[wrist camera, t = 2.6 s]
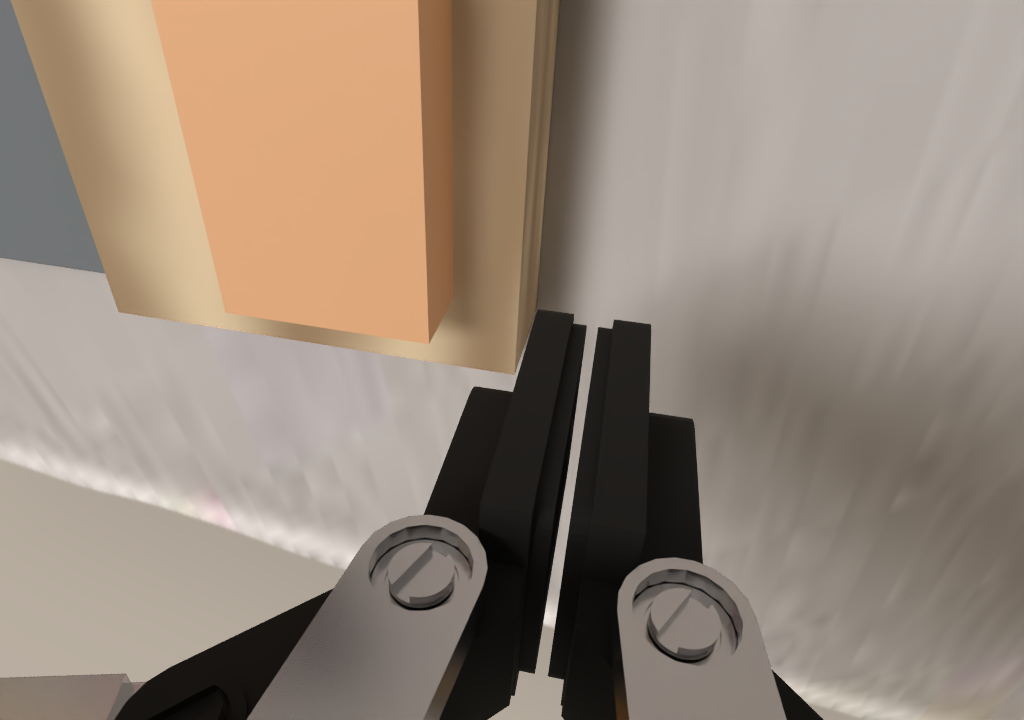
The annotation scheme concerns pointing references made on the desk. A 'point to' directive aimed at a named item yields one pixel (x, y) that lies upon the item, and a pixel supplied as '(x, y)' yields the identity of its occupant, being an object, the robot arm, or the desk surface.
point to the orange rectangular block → (321, 156)
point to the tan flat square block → (173, 197)
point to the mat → (35, 168)
